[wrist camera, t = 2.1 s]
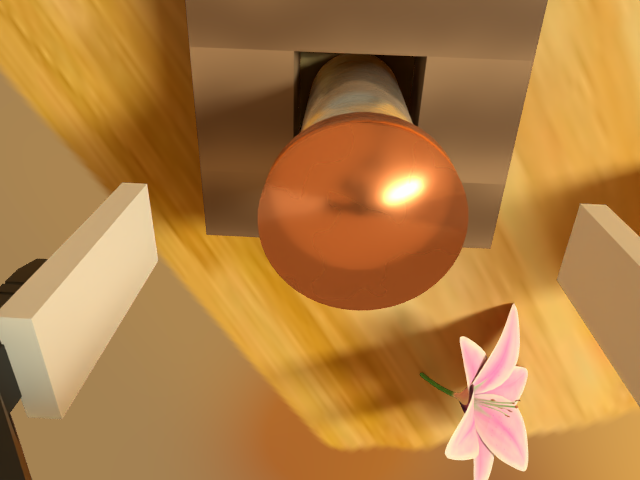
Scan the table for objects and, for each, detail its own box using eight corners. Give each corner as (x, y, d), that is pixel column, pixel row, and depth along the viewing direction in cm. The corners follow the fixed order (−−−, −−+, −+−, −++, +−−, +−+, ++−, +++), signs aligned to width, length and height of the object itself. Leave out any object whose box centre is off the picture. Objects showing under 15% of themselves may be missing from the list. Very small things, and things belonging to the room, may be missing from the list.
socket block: (203, -50, 25) (180, -49, 22) (526, -38, 25) (555, -36, 22) (221, 203, 32) (206, 234, 29) (474, 215, 32) (490, 248, 29)
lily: (494, 420, 43) (591, 494, 34) (367, 453, 39) (441, 547, 30) (502, 282, 40) (610, 323, 31) (368, 301, 36) (448, 355, 27)
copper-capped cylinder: (298, 35, 27) (254, 119, 14) (418, 40, 27) (487, 129, 14) (297, 150, 30) (260, 305, 17) (405, 155, 30) (450, 315, 17)
